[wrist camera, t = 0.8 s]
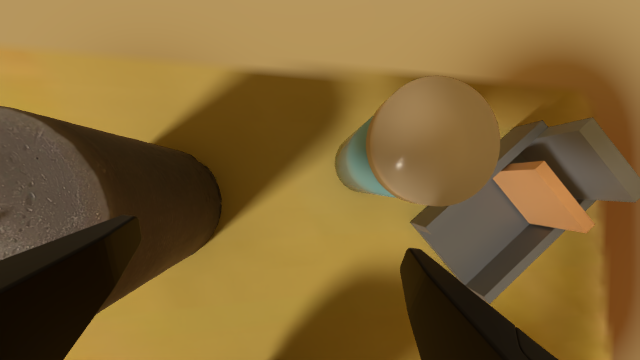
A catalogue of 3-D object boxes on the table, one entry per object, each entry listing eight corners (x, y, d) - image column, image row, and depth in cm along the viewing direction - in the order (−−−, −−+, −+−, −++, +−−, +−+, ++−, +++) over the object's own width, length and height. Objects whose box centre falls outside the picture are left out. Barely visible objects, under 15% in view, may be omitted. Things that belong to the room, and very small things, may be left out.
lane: (466, 289, 25) (525, 326, 19) (410, 222, 25) (449, 235, 19) (567, 193, 27) (654, 197, 20) (514, 127, 26) (586, 109, 20)
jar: (402, 183, 25) (515, 183, 12) (344, 202, 25) (398, 224, 12) (383, 124, 25) (478, 60, 12) (325, 142, 24) (357, 96, 11)
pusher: (529, 223, 25) (586, 233, 20) (487, 171, 25) (535, 169, 20) (536, 216, 25) (595, 224, 20) (494, 165, 25) (544, 160, 20)
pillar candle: (229, 157, 24) (108, 110, 9) (213, 267, 23) (60, 414, 8) (114, 141, 23) (-233, 61, 8) (97, 254, 23) (-297, 391, 8)
